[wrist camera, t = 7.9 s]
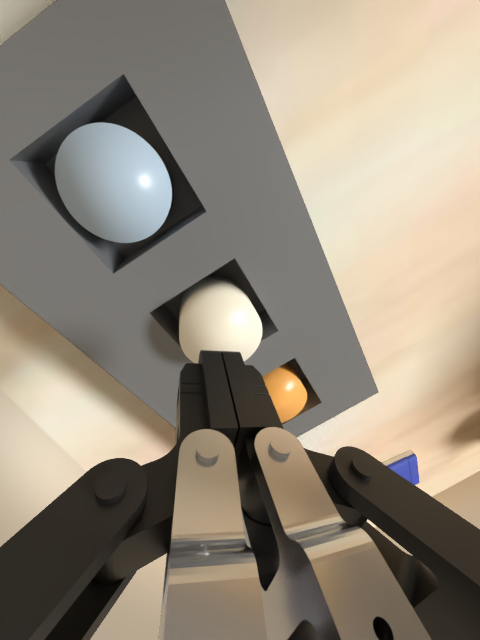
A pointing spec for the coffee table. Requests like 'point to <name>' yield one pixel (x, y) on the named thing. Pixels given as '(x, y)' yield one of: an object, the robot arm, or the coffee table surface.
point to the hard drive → (405, 466)
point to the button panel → (186, 209)
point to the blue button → (113, 182)
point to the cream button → (218, 319)
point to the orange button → (286, 391)
